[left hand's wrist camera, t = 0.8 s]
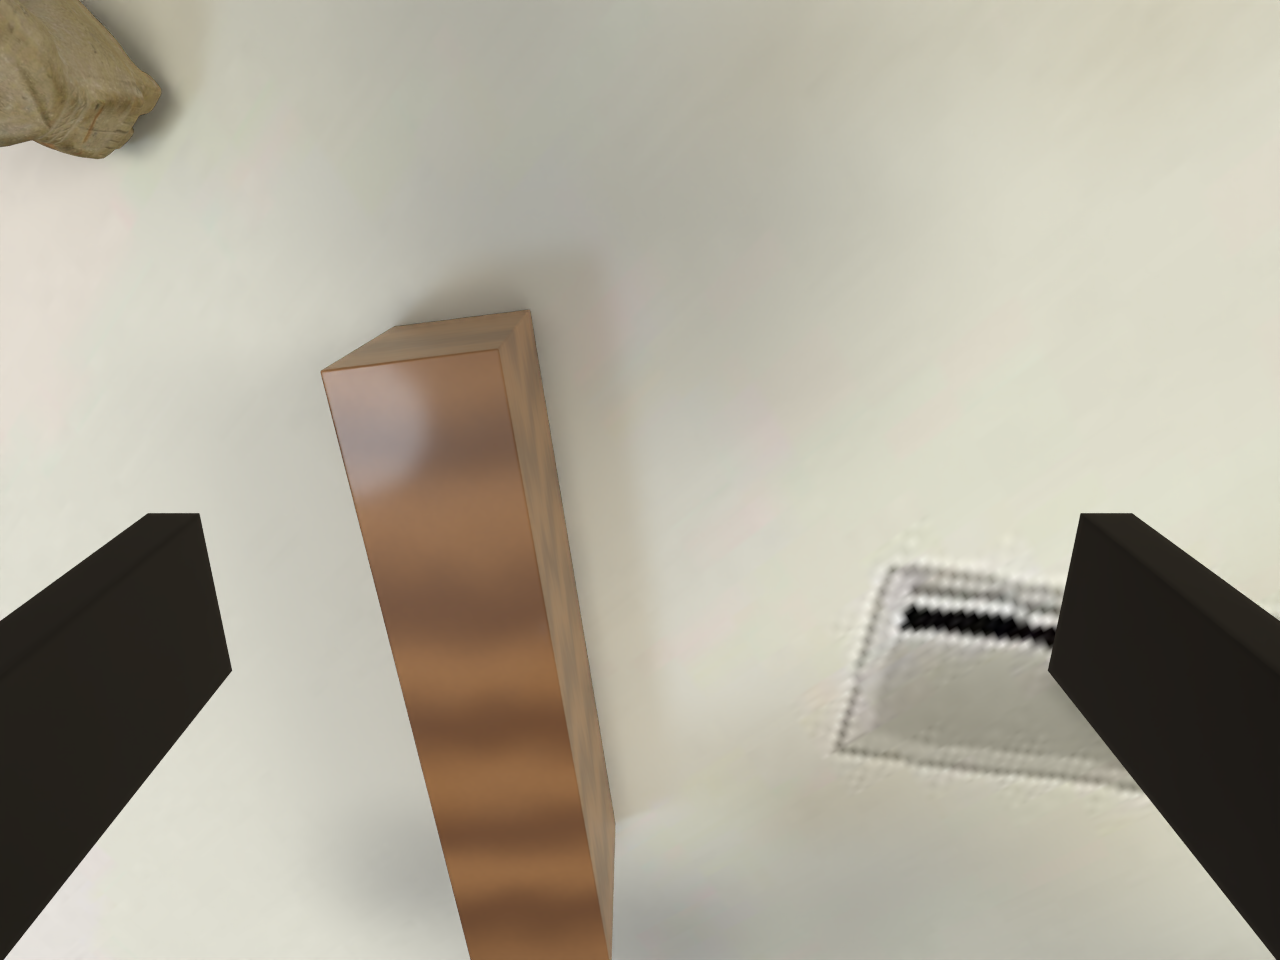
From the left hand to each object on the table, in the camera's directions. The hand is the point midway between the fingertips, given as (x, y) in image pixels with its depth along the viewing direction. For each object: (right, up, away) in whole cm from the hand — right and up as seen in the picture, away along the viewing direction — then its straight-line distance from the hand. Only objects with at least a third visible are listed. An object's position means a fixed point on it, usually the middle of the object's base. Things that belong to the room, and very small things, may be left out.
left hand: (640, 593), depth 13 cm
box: (-6, -5, +31) cm, 32 cm away
